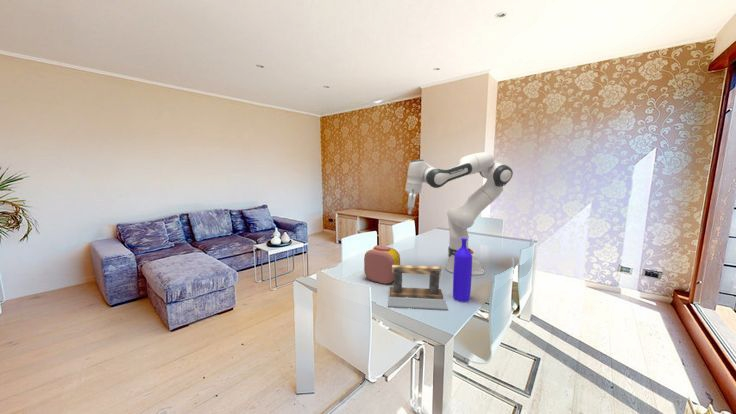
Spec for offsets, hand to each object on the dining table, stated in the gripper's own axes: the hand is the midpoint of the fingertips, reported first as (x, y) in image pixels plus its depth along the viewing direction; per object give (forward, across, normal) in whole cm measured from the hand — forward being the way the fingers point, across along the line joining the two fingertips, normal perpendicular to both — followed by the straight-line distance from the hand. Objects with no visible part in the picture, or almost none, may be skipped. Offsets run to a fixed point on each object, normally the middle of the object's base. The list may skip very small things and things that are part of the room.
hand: (409, 211), depth 158 cm
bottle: (+32, -28, -31) cm, 53 cm away
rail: (+24, -27, -7) cm, 36 cm away
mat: (+34, -38, -10) cm, 52 cm away
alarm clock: (+39, -13, +10) cm, 42 cm away
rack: (+35, -28, -9) cm, 46 cm away
